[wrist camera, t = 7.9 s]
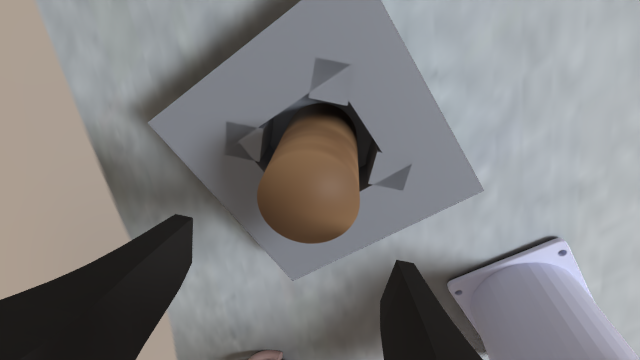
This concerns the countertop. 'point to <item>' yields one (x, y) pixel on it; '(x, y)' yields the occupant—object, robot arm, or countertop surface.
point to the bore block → (330, 88)
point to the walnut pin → (312, 177)
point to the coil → (267, 355)
